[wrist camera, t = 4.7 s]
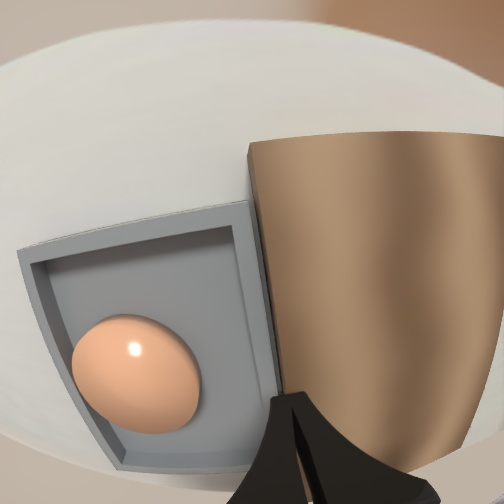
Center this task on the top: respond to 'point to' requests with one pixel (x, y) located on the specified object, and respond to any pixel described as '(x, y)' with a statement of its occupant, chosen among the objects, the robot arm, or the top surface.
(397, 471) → the robot arm
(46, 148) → the top surface
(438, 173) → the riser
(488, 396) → the top surface
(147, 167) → the top surface
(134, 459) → the tray
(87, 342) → the peach rounded disc
